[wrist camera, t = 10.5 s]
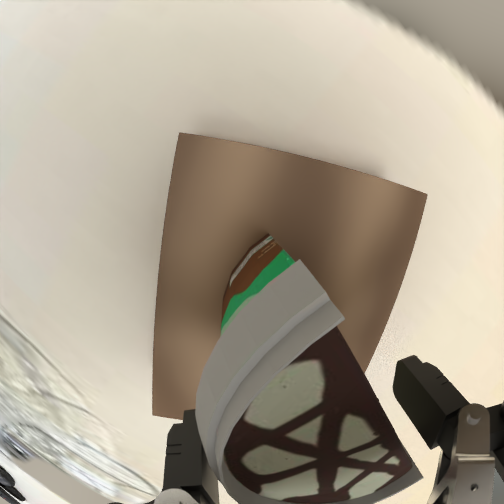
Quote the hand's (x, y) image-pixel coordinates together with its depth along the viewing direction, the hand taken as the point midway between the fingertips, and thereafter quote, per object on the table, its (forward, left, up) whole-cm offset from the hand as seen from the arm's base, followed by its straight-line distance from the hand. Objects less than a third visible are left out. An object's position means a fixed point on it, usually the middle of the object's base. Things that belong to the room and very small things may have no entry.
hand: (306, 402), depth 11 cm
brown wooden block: (0, 0, -12) cm, 12 cm away
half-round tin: (-1, 0, -6) cm, 6 cm away
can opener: (-57, -36, -12) cm, 69 cm away
